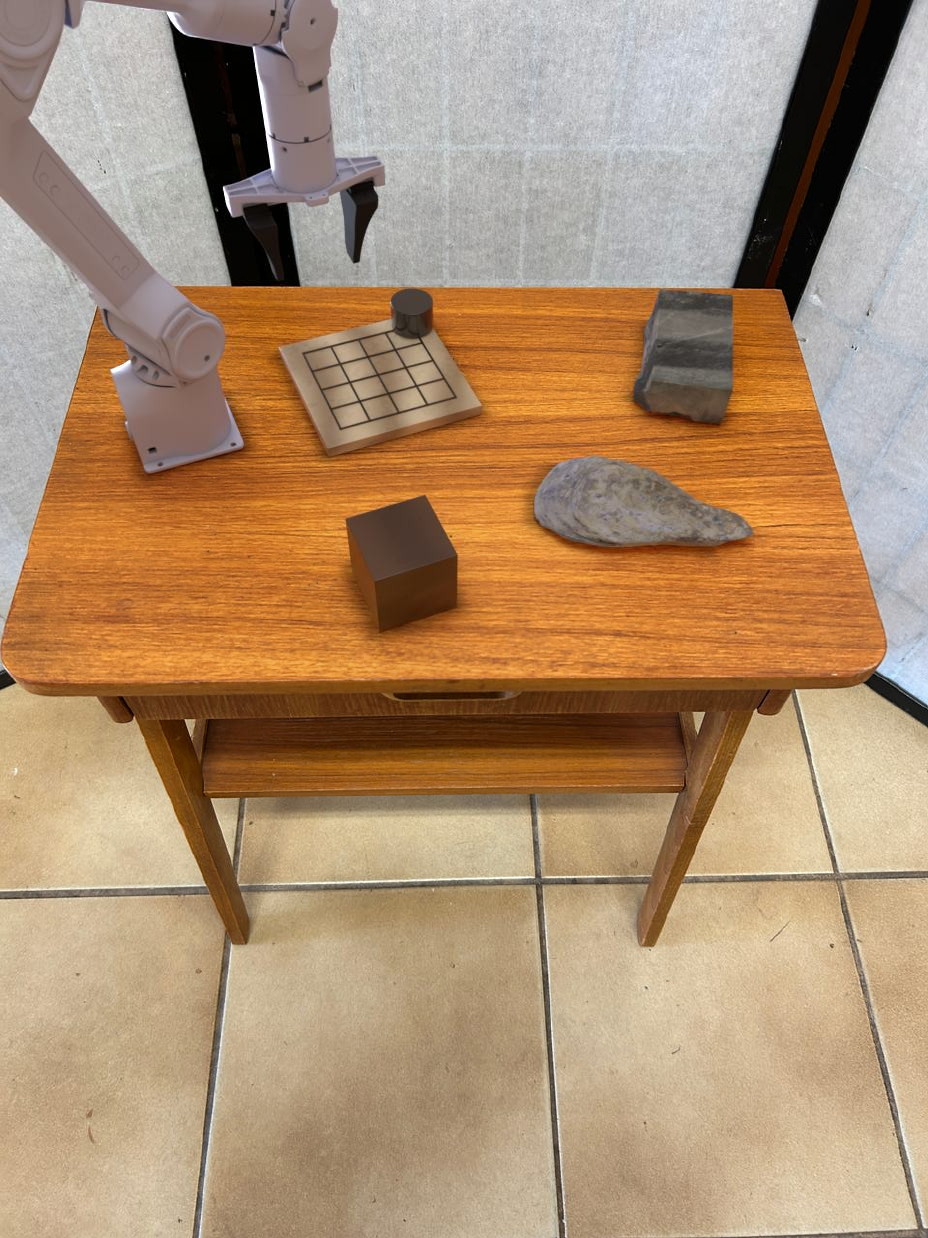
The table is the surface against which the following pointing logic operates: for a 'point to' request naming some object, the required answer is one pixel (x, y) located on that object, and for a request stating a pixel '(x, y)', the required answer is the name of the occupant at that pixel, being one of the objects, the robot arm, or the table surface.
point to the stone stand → (403, 562)
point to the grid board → (376, 385)
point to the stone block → (687, 356)
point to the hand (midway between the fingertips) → (316, 265)
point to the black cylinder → (412, 313)
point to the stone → (628, 507)
